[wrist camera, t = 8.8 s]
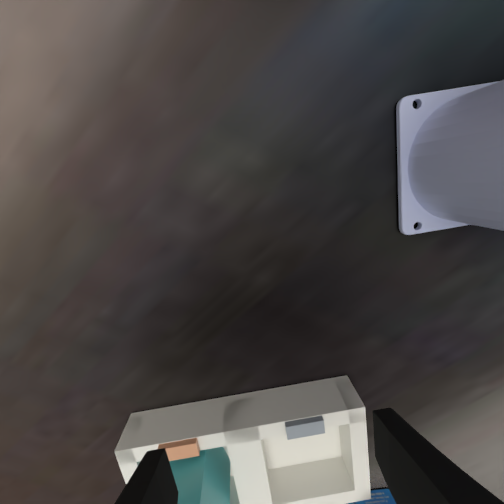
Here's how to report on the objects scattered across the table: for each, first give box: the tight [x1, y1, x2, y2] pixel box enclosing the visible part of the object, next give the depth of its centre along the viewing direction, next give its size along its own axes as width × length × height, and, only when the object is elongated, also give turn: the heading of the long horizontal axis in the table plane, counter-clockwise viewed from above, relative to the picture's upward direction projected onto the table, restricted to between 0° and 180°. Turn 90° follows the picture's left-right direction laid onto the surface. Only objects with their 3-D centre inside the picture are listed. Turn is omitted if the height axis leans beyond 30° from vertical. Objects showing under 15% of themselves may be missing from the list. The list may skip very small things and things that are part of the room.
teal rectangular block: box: [169, 447, 230, 504], centre depth 18 cm, size 4×4×6 cm
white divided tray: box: [114, 375, 371, 504], centre depth 20 cm, size 16×8×3 cm, turn 99°
